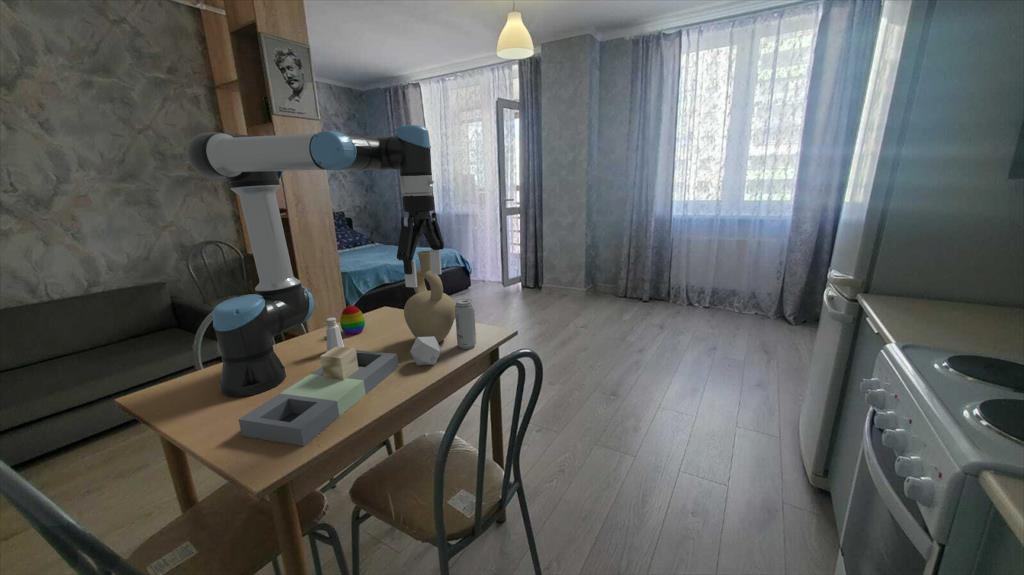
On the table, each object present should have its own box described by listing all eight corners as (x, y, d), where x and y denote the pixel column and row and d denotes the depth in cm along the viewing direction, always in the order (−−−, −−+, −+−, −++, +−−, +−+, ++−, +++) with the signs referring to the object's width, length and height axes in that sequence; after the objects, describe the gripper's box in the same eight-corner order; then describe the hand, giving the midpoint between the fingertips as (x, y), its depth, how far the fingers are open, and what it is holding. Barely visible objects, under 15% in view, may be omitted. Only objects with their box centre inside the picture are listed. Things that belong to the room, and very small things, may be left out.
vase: (398, 341, 136) (388, 252, 129) (440, 328, 147) (433, 245, 139) (423, 355, 124) (414, 259, 117) (467, 340, 135) (461, 251, 127)
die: (427, 374, 113) (444, 344, 114) (401, 359, 114) (418, 329, 115) (433, 371, 122) (449, 343, 123) (408, 357, 122) (424, 329, 123)
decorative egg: (370, 329, 148) (367, 303, 145) (354, 337, 141) (350, 310, 138) (353, 327, 151) (349, 301, 149) (336, 335, 144) (332, 308, 141)
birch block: (323, 377, 103) (320, 356, 102) (339, 367, 109) (336, 346, 107) (343, 380, 102) (340, 358, 100) (358, 369, 107) (355, 348, 106)
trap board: (242, 435, 87) (238, 419, 86) (351, 361, 122) (349, 349, 120) (303, 446, 83) (300, 429, 82) (398, 366, 117) (397, 353, 116)
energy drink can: (455, 344, 132) (452, 300, 128) (473, 341, 134) (470, 297, 130) (460, 351, 127) (456, 305, 123) (478, 347, 129) (476, 302, 125)
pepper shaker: (340, 354, 127) (335, 321, 124) (323, 355, 127) (318, 321, 124) (348, 347, 132) (343, 315, 129) (331, 348, 132) (326, 316, 130)
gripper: (405, 197, 85) (414, 294, 91) (452, 192, 109) (457, 269, 114) (374, 197, 87) (384, 292, 93) (427, 192, 110) (433, 268, 116)
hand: (424, 280), depth 103 cm, fingers open, 13 cm apart
